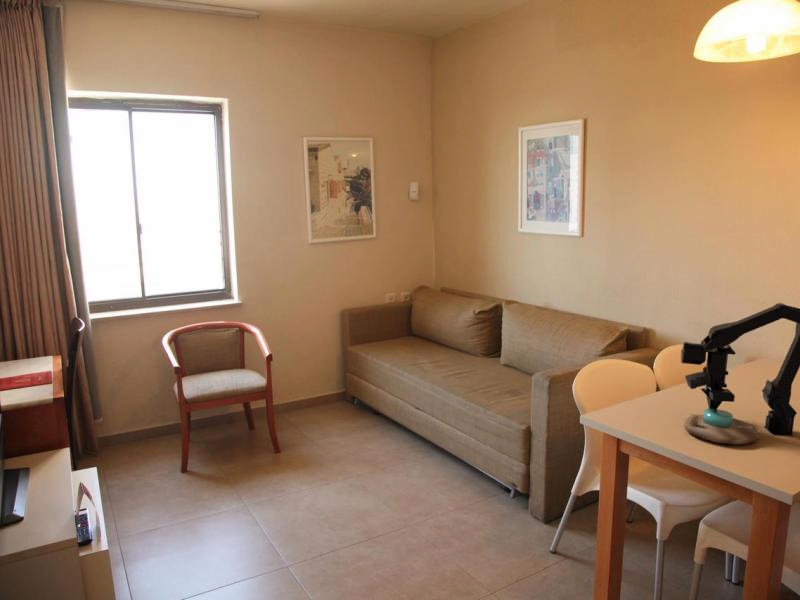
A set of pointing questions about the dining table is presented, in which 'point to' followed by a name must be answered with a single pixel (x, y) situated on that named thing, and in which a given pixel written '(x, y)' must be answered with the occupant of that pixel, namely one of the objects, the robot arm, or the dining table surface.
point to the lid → (717, 418)
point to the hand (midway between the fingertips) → (711, 413)
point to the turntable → (722, 431)
